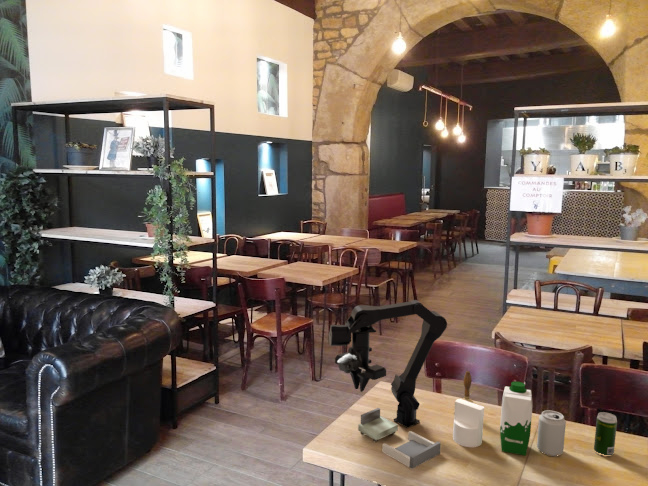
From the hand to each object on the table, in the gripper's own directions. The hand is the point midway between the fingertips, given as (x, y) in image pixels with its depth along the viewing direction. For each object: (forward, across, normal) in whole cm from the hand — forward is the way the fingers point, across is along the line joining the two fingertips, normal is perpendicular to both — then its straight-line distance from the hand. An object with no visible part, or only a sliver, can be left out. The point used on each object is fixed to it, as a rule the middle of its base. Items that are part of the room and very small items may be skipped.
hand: (359, 390), depth 174 cm
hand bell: (+12, +19, +34) cm, 41 cm away
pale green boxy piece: (+12, +9, 0) cm, 15 cm away
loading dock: (+12, +23, 0) cm, 26 cm away
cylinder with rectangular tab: (+12, +29, +20) cm, 37 cm away
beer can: (+12, +60, +46) cm, 77 cm away
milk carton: (+12, +41, +27) cm, 51 cm away
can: (+12, +49, +34) cm, 61 cm away
